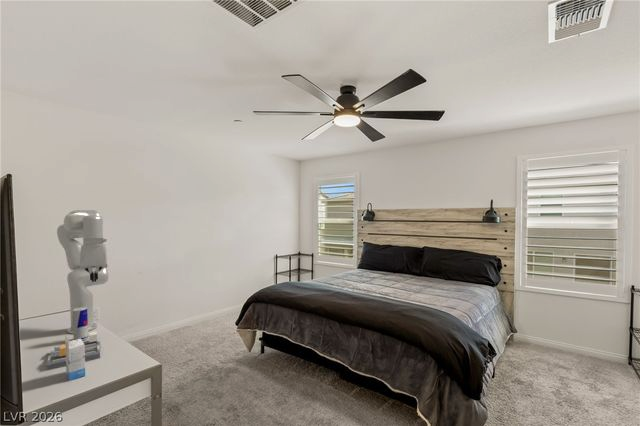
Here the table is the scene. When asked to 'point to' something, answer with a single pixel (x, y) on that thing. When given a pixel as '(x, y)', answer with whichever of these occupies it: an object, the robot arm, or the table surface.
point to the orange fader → (63, 350)
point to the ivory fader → (93, 337)
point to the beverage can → (80, 323)
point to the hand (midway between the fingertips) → (94, 281)
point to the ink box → (75, 358)
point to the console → (59, 361)
